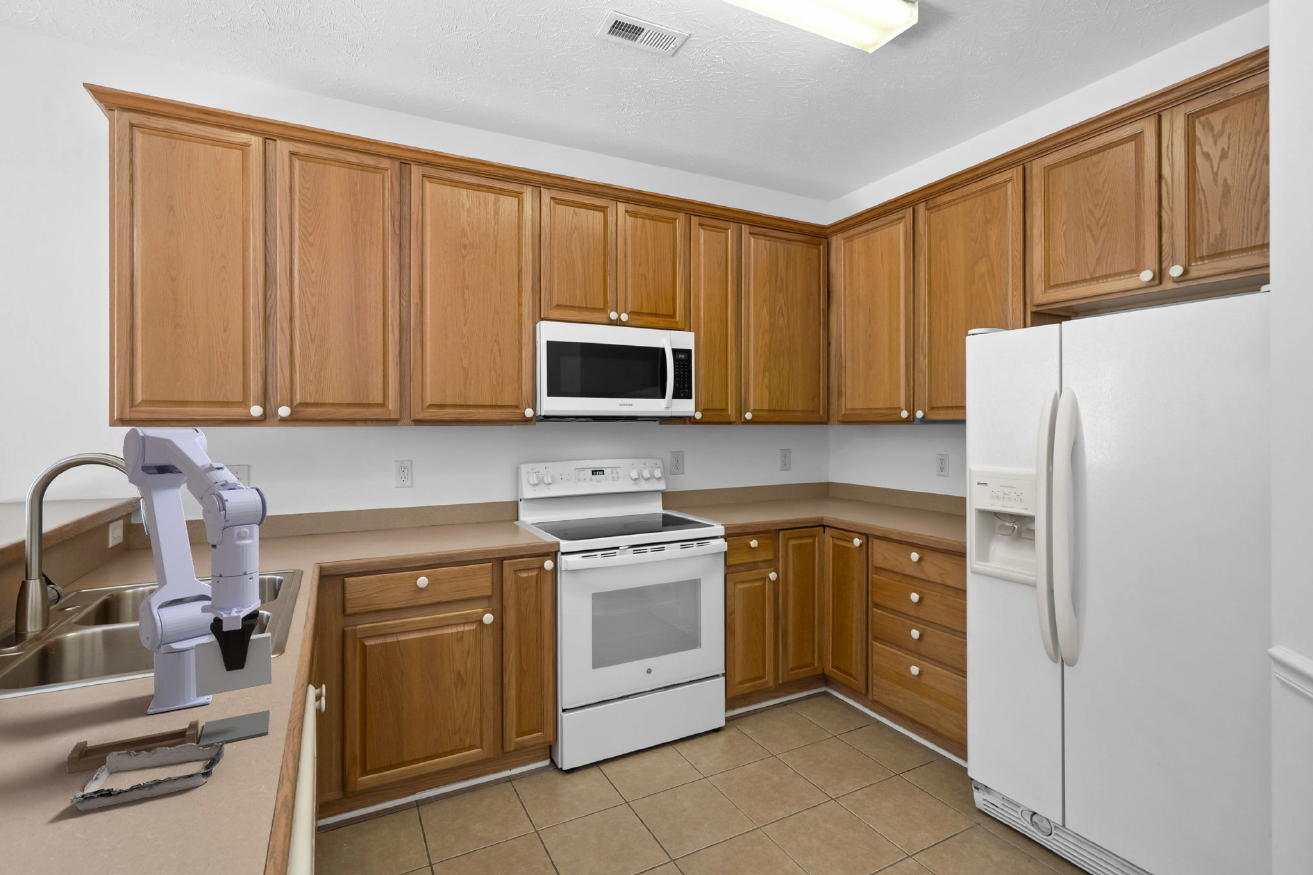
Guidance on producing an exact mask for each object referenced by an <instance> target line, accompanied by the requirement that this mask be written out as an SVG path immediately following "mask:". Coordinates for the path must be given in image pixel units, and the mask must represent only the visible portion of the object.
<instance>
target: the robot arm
mask: <svg viewBox="0 0 1313 875" xmlns="http://www.w3.org/2000/svg"><path fill="white" fill-rule="evenodd" d="M207 452H208V441H207V437H206V435H205V433H204V432H203V431H202V430H201V429H200V428H199V427H192V428H139V427H131V428H130V429H129V430H128V431H127V432H126V434H125V436H124V440H123V447H122V455H123V462H124V468H125V474H126V476H127V479H128V483H129V484H132V485H134V486H136V487H139V488H140V490H141V494H142V498H143V503H144V508H145V513H146V519H147V521H146V522H147V524H148V532H149V538H150V543H151V549H152V555H153V562H154V567H155V573H156V578H157V579H156V580H157V585H158V586H157V588H156V589H155V590H153V591H152V592H151V593H150V594H149V595H147V596H146V597H145V598H144V599H143V600H142V602H141V603H140V605H139V608H138V612H139V613H138V614H139V621H138V633H139V634H138V635H139V638H140V641H141V644H142V645H143V647H144V648H146V649H147V650H149V651H153V698H152V700H151V702H150V704H149V705H148V709H147V710H146V714H148V715H151V714H157V713H162V712H167V711H174V710H179V709H186V708H191V707H196V706H202V705H207V704H210V703H211V702H212V699H213V697H214V695H208V696H203V697H198V698H196V675H195V646H196V644H200V643H207V642H213V641H218V644H219V646H220V649H221V653H222V657H223V662H224V666H225V669H226V671H234V670H240V669H244V666H245V663H246V658H247V652H248V646H249V642H250V638H251V636H252V635H253V633H254V631H255V629H256V627H257V625H258V623H259V617H260V610H259V609H258V608H260V607H261V602H262V600H261V599H260V558H259V557H260V550H259V549H260V547H259V546H260V541H259V540H260V539H259V538H260V537H259V534H260V532H259V531H260V530H259V527H261V526H263V524H264V523H265V521H266V520H267V519H266V518H267V516H268V503H267V499H266V496H265V494H264V492H263V491H262V489H261V488H260V487H259V486H244V485H243V484H242V483H241V481H240V480H239V479H238V478H237V476H235V475H234V474H233V473H232V472H231V470H229V469H228V467H226V466H225V465H224V464H223V463H222V462H212V460H211V458H210V457H209V456H208V454H207ZM185 484H186V489H187V490H188V492H189V493H190V494H191V495H192V497H194V499H195V500H196V501H197V503H198V504H199V505H200V506H201V507H202V510H201V511H202V512H201V513H202V520H203V522H204V526H205V529H206V533H205V534H206V539H207V540H206V541H207V543H209V544H210V572H211V573H210V575H211V576H210V584H211V585H209V584H207V583H205V582H203V581H200V580H198V579H197V578H196V572H195V567H194V562H193V556H192V550H191V545H190V539H189V532H188V526H187V522H186V516H185V512H184V504H183V500H182V495H181V488H182V486H183V485H185Z"/></svg>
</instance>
